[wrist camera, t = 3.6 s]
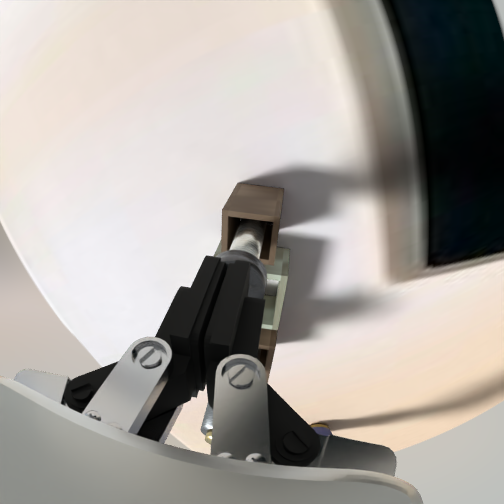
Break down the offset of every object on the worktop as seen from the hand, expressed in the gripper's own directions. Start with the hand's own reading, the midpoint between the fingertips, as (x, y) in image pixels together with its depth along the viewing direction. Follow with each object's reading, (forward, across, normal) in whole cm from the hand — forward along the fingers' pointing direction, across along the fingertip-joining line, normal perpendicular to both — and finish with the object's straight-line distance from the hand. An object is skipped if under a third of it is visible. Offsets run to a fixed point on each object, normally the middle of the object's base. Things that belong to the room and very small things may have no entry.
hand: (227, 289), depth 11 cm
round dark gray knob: (+6, 0, 0) cm, 6 cm away
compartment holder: (+8, 0, +5) cm, 10 cm away
